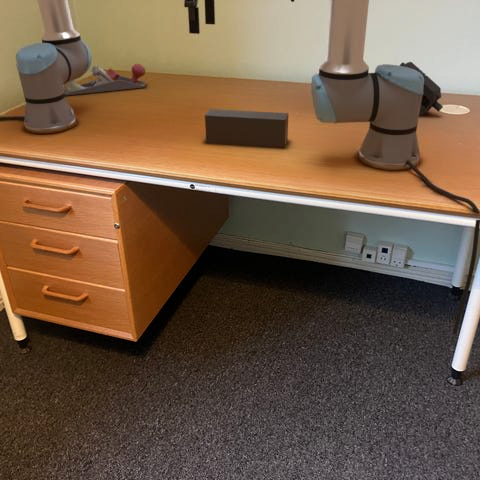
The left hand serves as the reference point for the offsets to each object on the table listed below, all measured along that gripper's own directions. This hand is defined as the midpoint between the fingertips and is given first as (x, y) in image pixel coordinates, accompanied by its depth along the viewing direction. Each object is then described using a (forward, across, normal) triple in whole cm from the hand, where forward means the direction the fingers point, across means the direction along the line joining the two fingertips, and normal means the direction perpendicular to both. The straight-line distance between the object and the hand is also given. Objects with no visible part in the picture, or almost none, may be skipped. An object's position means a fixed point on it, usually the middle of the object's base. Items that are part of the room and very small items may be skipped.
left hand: (202, 28), depth 149 cm
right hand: (-4, +28, -27) cm, 39 cm away
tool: (+27, +26, -60) cm, 71 cm away
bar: (+28, -11, -16) cm, 34 cm away
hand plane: (+28, +28, +49) cm, 63 cm away
